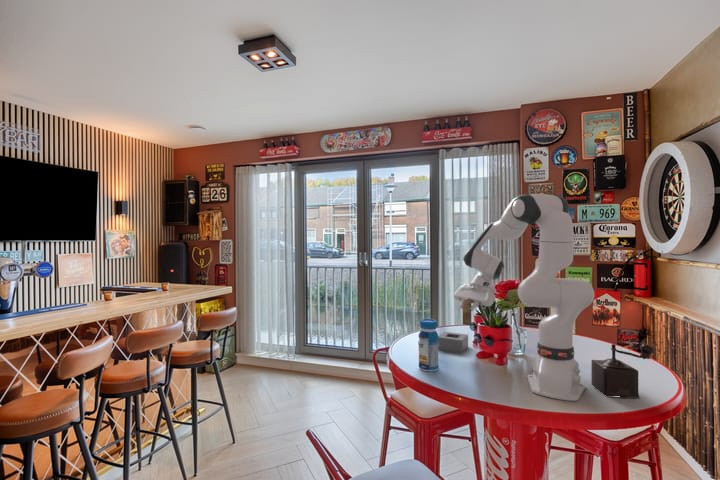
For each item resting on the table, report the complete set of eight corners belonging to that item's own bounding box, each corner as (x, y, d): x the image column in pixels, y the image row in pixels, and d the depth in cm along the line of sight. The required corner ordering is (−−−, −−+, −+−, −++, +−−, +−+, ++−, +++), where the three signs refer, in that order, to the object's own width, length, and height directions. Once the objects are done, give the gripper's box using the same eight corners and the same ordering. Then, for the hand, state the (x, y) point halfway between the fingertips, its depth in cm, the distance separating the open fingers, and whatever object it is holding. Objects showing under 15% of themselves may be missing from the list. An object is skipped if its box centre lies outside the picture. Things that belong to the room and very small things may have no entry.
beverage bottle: (439, 372, 142) (439, 323, 142) (418, 371, 143) (417, 322, 144) (438, 365, 150) (438, 318, 150) (418, 364, 152) (418, 317, 152)
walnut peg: (470, 325, 164) (470, 299, 163) (461, 324, 166) (461, 299, 165) (472, 323, 167) (472, 298, 167) (463, 322, 169) (463, 297, 169)
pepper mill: (606, 397, 119) (606, 344, 119) (590, 384, 130) (590, 335, 130) (658, 400, 116) (657, 346, 117) (637, 387, 127) (636, 337, 127)
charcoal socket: (462, 353, 167) (462, 340, 167) (437, 349, 173) (437, 337, 173) (468, 346, 177) (468, 334, 177) (444, 343, 183) (444, 331, 183)
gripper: (459, 280, 179) (445, 301, 173) (494, 284, 162) (480, 308, 156) (465, 288, 181) (452, 309, 176) (500, 293, 164) (487, 317, 159)
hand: (466, 309), depth 166 cm, fingers closed on walnut peg, 4 cm apart
